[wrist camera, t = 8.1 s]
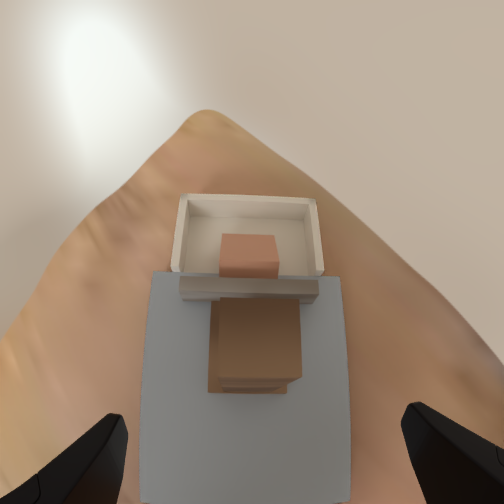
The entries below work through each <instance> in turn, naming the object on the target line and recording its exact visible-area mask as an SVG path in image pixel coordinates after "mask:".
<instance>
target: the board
mask: <svg viewBox="0 0 504 504" xmlns="http://www.w3.org/2000/svg"><path fill="white" fill-rule="evenodd" d="M180 276H197V277H219V274H214V273H186V272H161V271H153V277H152V284H151V292H150V300H149V308H148V317H147V326H146V336H145V347H144V358H143V372H142V387H141V406H140V437H139V481H140V502H144V503H151V504H335V503H341V502H347V501H350V488H351V424H350V395H349V376H348V360H347V346H346V334H345V323H344V312H343V302H342V293H341V284H340V276H288V275H278V279H302V280H318V283H319V295H318V297H317V298H316V300H315V301H314V302H313V304H299V305H300V325H301V349H302V377H301V378H299V379H297V380H295V381H293V382H291V383H289V384H287V393H286V394H223V393H208V362H209V337H210V315H211V302H197V301H183V300H182V298H181V295H180V293H179V280H180Z"/></svg>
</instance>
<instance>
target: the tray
mask: <svg viewBox="0 0 504 504" xmlns="http://www.w3.org/2000/svg"><path fill="white" fill-rule="evenodd" d="M222 233H224V234H255V235H274V237H275V242H276V246H277V251H278V256H279V261H280V263H279V272H278V275H288V276H321V275H322V273H323V272H324V263H323V254H322V245H321V237H320V228H319V221H318V213H317V206H316V199H313V198H297V197H278V196H256V195H228V194H181V196H180V203H179V209H178V215H177V222H176V229H175V236H174V243H173V251H172V258H171V269H172V271H173V272H186V273H214V274H219V256H220V248H221V239H222Z"/></svg>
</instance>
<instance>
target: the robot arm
mask: <svg viewBox="0 0 504 504" xmlns="http://www.w3.org/2000/svg"><path fill="white" fill-rule="evenodd" d="M401 428H402V431H403V435H404V439H405V442H406V446H407V450H408V453H409V457H410V460H411V463H412V466H413V469H414V471H415V474H416V476H417V479H418V482H419V484H420V487H421V490H422V492H423V495H424V498H425V500H426V503H427V504H504V449H502V448H500V447H499V446H495V444H493V443H491V442H489V441H488V440H486V439H484V438H482V437H481V436H479V435H477V434H475V433H473V432H472V431H470V430H468V429H466V428H465V427H463V426H461V425H459V424H458V423H456V422H454V421H453V420H451V419H449V418H447V417H446V416H444V415H442V414H441V413H439V412H437V411H435V410H434V409H432V408H430V407H429V406H427V405H425V404H424V403H422V402H414V403H410V404H409V405H408V406H407V408H406V410H405V413H404V415H403V417H402V420H401ZM127 442H128V431H127V428H126V425H125V422H124V419H123V417H122V415H120V414H114V413H109V414H107V415H106V416H105V417H103V418H102V419H101V420H100V421H99V422H98V423H96V424H95V425H94V426H93V427H92V428H90V429H89V430H88V431H87V432H86V433H85V434H83V435H82V436H81V437H80V438H79V439H77V440H76V441H75V442H74V443H73V444H71V445H70V446H69V447H68V448H67V449H65V450H64V451H63V452H62V453H61V454H59V455H58V456H57V457H56V458H54V459H53V460H52V461H51V462H50V463H48V464H47V465H46V466H45V467H43V468H42V469H41V470H40V471H38V473H37V474H35V475H33V476H32V477H31V478H30V479H28V480H27V481H26V482H24V483H23V484H22V485H20V486H19V487H18V488H16V489H15V490H13V491H11V492H10V493H8V494H7V495H5V496H3V497H2V498H0V504H117V499H118V495H119V491H120V487H121V483H122V479H123V473H124V465H125V457H126V449H127Z"/></svg>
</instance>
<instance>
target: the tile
mask: <svg viewBox="0 0 504 504" xmlns="http://www.w3.org/2000/svg"><path fill="white" fill-rule="evenodd" d="M279 263H280V261H279V256H278V251H277V246H276V242H275V237H274V235H255V234H224V233H222V239H221V248H220V256H219V277H225V278H258V279H278V272H279Z"/></svg>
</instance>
